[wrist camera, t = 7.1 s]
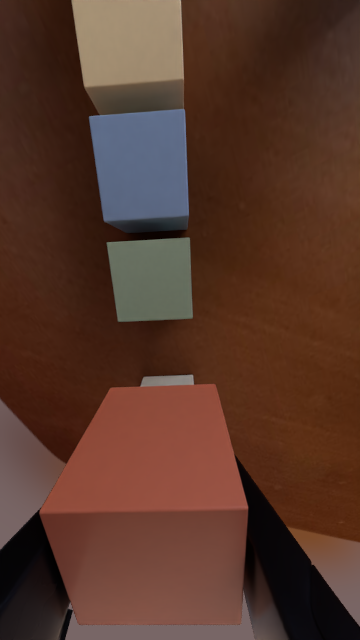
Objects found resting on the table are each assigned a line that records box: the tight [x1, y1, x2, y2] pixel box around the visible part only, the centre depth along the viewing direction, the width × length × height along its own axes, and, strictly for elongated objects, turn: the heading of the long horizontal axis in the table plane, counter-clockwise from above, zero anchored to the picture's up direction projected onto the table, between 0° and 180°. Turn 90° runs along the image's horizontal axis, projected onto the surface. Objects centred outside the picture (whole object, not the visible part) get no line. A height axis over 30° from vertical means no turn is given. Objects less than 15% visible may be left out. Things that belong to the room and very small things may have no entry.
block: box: [72, 0, 184, 115], centre depth 10 cm, size 4×4×4 cm
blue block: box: [89, 109, 189, 233], centre depth 12 cm, size 4×4×4 cm
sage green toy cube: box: [107, 238, 193, 322], centre depth 14 cm, size 4×4×4 cm
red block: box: [39, 384, 248, 625], centre depth 7 cm, size 4×4×4 cm
